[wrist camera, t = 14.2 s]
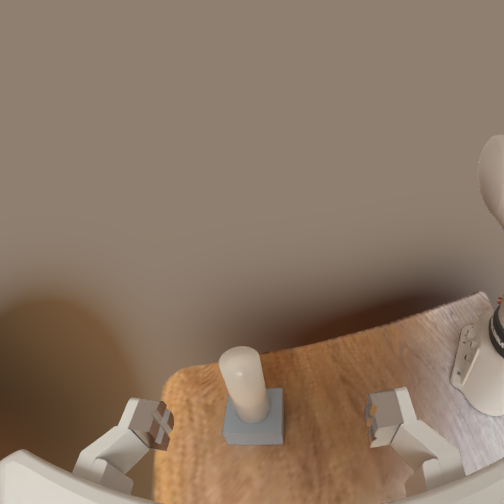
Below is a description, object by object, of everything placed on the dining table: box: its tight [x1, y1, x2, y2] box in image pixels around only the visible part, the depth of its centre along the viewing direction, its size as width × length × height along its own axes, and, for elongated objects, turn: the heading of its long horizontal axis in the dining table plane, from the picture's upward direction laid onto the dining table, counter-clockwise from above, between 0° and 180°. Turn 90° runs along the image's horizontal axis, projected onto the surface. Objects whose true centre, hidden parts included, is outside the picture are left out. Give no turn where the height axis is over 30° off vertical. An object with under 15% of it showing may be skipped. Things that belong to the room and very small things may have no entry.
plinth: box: [222, 388, 284, 445], centre depth 38 cm, size 8×8×4 cm
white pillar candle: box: [219, 346, 270, 424], centre depth 34 cm, size 5×5×11 cm
